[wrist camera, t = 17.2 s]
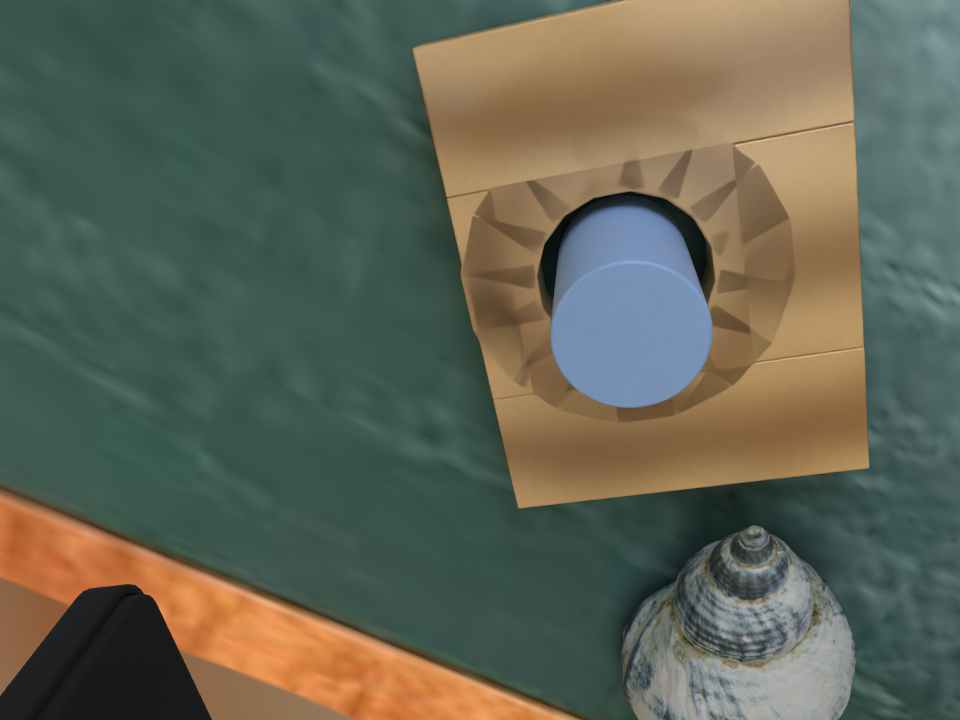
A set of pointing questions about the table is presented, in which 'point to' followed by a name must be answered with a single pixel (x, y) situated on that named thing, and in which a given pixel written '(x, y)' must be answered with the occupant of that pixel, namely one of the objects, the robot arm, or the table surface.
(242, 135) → the table surface
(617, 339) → the light blue cylinder
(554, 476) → the holder
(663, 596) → the seashell
